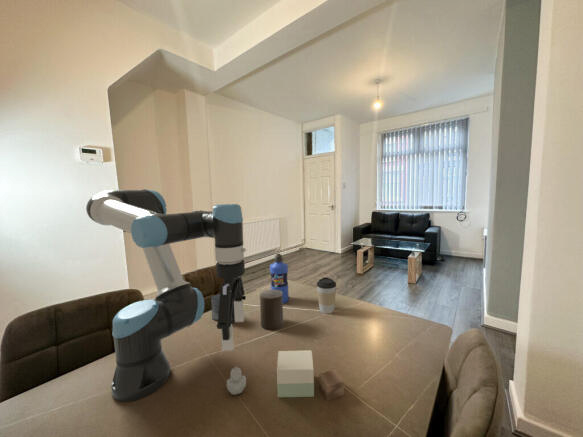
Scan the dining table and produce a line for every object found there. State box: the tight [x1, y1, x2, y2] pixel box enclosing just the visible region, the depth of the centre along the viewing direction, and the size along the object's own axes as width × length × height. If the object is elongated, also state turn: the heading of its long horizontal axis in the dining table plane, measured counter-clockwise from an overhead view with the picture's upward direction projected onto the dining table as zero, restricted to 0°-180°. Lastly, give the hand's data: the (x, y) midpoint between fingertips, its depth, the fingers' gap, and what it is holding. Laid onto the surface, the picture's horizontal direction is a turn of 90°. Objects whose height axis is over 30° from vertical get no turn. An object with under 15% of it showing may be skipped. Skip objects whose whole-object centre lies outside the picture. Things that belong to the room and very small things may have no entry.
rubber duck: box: [226, 366, 247, 396], centre depth 69 cm, size 5×7×8 cm
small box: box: [210, 293, 236, 324], centre depth 109 cm, size 11×6×10 cm, turn 58°
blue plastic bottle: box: [269, 253, 290, 305], centre depth 125 cm, size 9×9×25 cm
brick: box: [318, 369, 345, 401], centre depth 67 cm, size 5×5×4 cm
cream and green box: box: [276, 349, 315, 398], centre depth 69 cm, size 10×8×8 cm
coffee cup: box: [316, 276, 337, 314], centre depth 114 cm, size 9×9×15 cm
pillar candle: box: [259, 289, 284, 331], centre depth 103 cm, size 10×10×15 cm
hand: (234, 334), depth 68 cm, fingers open, 13 cm apart
